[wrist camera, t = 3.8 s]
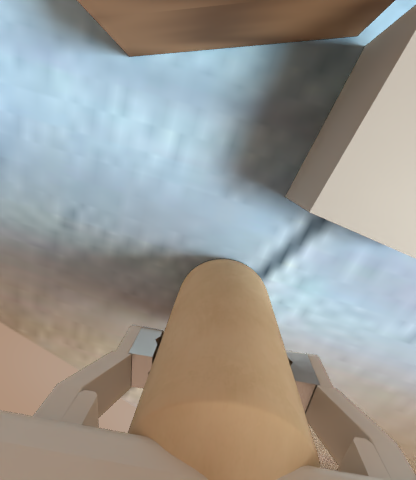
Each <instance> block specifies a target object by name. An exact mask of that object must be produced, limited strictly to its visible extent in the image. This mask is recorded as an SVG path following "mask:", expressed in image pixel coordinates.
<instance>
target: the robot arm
mask: <svg viewBox="0 0 416 480" xmlns="http://www.w3.org/2000/svg"><path fill="white" fill-rule="evenodd" d="M163 334H164V331H163V330H159V329H154V328H148V327H142V326H136V325H132V326H130V328H129V329H128V331H127V333H126V334H125V336H124V338H123V340H122V341H121V343H120V345H119V346H118V348H117V350H116V351H111V352H110V353H108V354H106V355H105V356H103V357H101V358H100V359H98V360H96V361H95V362H93V363H91V364H90V365H88V366H86V367H85V368H83V369H81V370H80V371H78V372H77V373H75V374H73V375H71V376H70V377H68V378H66V379H65V380H63V381H62V382H60V383H58V384H57V385H56V386H55V388H54V389H53V391H52V392H51V393H50V395H49V396H48V397H47V398H46V400H45V401H44V402H43V403H42V405H41V406H40V408H39V409H38V410H37V411H36V413H35V414H34V415H33V416H29V415H24V414H18V413H12V412H7V411H1V410H0V480H208V479H207V478H206V477H205V476H204V475H202V474H201V473H199V472H198V471H197V470H195V469H194V468H192V467H191V466H189V465H187V464H186V463H184V462H182V461H181V460H179V459H178V458H176V457H175V456H173V455H171V454H170V453H169V452H167V451H166V450H165V449H163V448H162V447H161V446H160V445H159V444H158V443H157V442H155V441H154V440H152V439H151V438H149V437H146V436H141V435H136V434H130V433H125V432H119V431H113V430H108V429H102V428H99V426H98V418H99V417H100V416H101V415H102V414H103V413H104V412H105V411H106V410H108V409H109V408H110V407H111V406H112V405H113V404H114V403H115V402H116V401H117V400H118V399H119V398H120V397H121V396H123V395H124V394H125V393H126V392H127V391H128V390H129V389H130V388H131V387H138V388H144V386H145V384H146V381H147V378H148V375H149V373H150V370H151V367H152V364H153V362H154V359H155V356H156V353H157V350H158V348H159V345H160V342H161V339H162V337H163ZM286 354H287V357H288V360H289V363H290V367H291V370H292V373H293V376H294V379H295V383H296V386H297V389H298V392H299V395H300V399H301V402H302V405H303V408H304V412H305V415H306V418H307V421H308V424H309V425H310V426H311V428H312V429H313V431H314V432H315V433H316V435H317V436H318V438H319V439H320V440H321V442H322V443H323V445H324V446H325V447H326V449H327V450H328V452H329V453H330V454H331V456H332V457H333V459H334V460H335V461H336V463H337V464H338V465H339V467H338V469H337V470H331V469H326V468H320V467H315V466H309V465H307V466H302V467H300V468H298V469H296V470H295V471H293V472H291V473H288V474H286V475H284V476H282V477H280V478H278V479H276V480H416V474H415V473H414V471H413V469H412V468H411V466H410V464H409V463H408V461H407V459H406V458H405V456H404V454H403V453H402V451H401V449H400V448H399V446H398V444H397V443H396V442H395V441H394V440H393V439H392V438H390V437H389V436H388V435H387V434H386V433H385V432H384V431H383V430H382V429H381V428H380V427H379V426H377V425H376V424H375V423H374V422H373V421H372V420H371V419H370V418H369V417H368V416H367V415H365V414H364V413H363V412H362V411H361V410H360V409H359V408H358V407H357V406H356V405H355V404H353V403H352V402H351V401H350V400H349V399H348V398H347V397H346V396H345V395H344V394H343V393H342V392H340V391H339V390H338V389H336V388H334V387H333V385H332V383H331V381H330V379H329V377H328V375H327V373H326V371H325V369H324V366H323V364H322V362H321V360H320V358H319V357H318V356H317V355H314V354H307V353H306V354H305V353H300V352H293V351H287V350H286Z"/></svg>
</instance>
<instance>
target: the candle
mask: <svg viewBox="0 0 416 480" xmlns="http://www.w3.org/2000/svg"><path fill="white" fill-rule="evenodd" d="M128 433H130V434H136V435H141V436H146V437H149V438H151V439H152V440H154V441H155V442H157V443H158V444H159V445H160V446H161V447H162V448H163V449H165V450H166V451H167V452H169V453H170V454H171V455H173V456H175V457H176V458H178V459H179V460H181V461H182V462H184V463H186V464H187V465H189V466H191V467H192V468H194V469H195V470H197V471H198V472H199V473H201V474H202V475H204V476H205V477H206V478H207V479H208V480H276V479H278V478H280V477H282V476H284V475H286V474H288V473H291V472H293V471H295V470H296V469H298V468H300V467H302V466H307V465H309V466H315V467H320V462H319V458H318V454H317V450H316V447H315V444H314V441H313V437H312V434H311V431H310V428H309V424H308V421H307V418H306V415H305V412H304V408H303V405H302V402H301V399H300V395H299V392H298V389H297V386H296V383H295V379H294V376H293V373H292V370H291V367H290V363H289V360H288V357H287V354H286V350H285V347H284V344H283V341H282V338H281V334H280V331H279V328H278V325H277V321H276V318H275V315H274V312H273V309H272V305H271V302H270V299H269V296H268V293H267V290H266V288H265V285H264V283H263V282H262V280H261V278H260V277H259V276H258V275H257V273H256V272H255V271H253V270H252V269H251V268H250V267H248V266H247V265H245V264H243V263H240V262H238V261H234V260H228V259H216V260H211V261H207V262H204V263H202V264H200V265H198V266H197V267H195V268H194V269H193V270H192V271H191V272H190V273H189V274H188V275H187V276H186V278H185V279H184V281H183V283H182V285H181V287H180V290H179V292H178V295H177V298H176V301H175V303H174V306H173V309H172V312H171V314H170V317H169V320H168V323H167V326H166V328H165V331H164V334H163V337H162V339H161V342H160V345H159V348H158V350H157V353H156V356H155V359H154V362H153V364H152V367H151V370H150V373H149V375H148V378H147V381H146V384H145V386H144V389H143V392H142V395H141V397H140V400H139V403H138V406H137V409H136V411H135V414H134V417H133V420H132V423H131V426H130V428H129V431H128Z"/></svg>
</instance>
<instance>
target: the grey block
mask: <svg viewBox="0 0 416 480" xmlns="http://www.w3.org/2000/svg"><path fill="white" fill-rule="evenodd" d="M285 197H286V198H287V199H289V200H291V201H292V202H294V203H295V204H297V205H299V206H300V207H302V208H303V209H305V210H307V211H308V212H310V213H312V214H315V215H317V216H319V217H322V218H324V219H326V220H328V221H331V222H333V223H335V224H338V225H340V226H342V227H345V228H347V229H349V230H351V231H354V232H356V233H358V234H361V235H363V236H365V237H367V238H370V239H372V240H374V241H377V242H379V243H381V244H384V245H386V246H388V247H390V248H393V249H395V250H397V251H400V252H402V253H404V254H407V255H409V256H411V257H413V258H416V5H415V6H414V7H412V8H411V9H410V10H409V11H408V12H406V13H405V14H404V15H403V16H401V17H400V18H399V19H398V20H397V21H395V22H394V23H393V24H392V25H390V26H389V27H388V28H387V29H386V30H384V31H383V32H382V33H381V34H379V35H378V36H377V37H376V38H374V39H373V40H372V41H371V42H370V43H368V44H367V45H366V46H365V47H364V49H363V51H362V53H361V55H360V57H359V58H358V60H357V62H356V64H355V66H354V68H353V70H352V72H351V73H350V75H349V77H348V79H347V81H346V83H345V85H344V87H343V89H342V90H341V92H340V94H339V96H338V98H337V100H336V102H335V104H334V105H333V107H332V109H331V111H330V113H329V115H328V117H327V119H326V120H325V122H324V124H323V126H322V128H321V130H320V132H319V134H318V136H317V137H316V139H315V141H314V143H313V145H312V147H311V149H310V151H309V152H308V154H307V156H306V158H305V160H304V162H303V164H302V166H301V167H300V169H299V171H298V173H297V175H296V177H295V179H294V181H293V182H292V184H291V186H290V188H289V190H288V192H287V194H286V196H285Z"/></svg>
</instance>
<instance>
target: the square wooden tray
mask: <svg viewBox="0 0 416 480" xmlns="http://www.w3.org/2000/svg"><path fill="white" fill-rule="evenodd" d="M77 1H78V2H79V3H80V4H81V5H82V6H83V7H84V9H85V10H86V11H87V12H88V13H89V14H90V15H91V16H92V17H93V18H94V19H95V20H96V21H97V22H98V23H99V25H100V26H101V27H102V28H103V29H104V30H105V31H106V32H107V33H108V34H109V35H110V36H111V37H112V38H113V40H114V41H115V42H116V43H117V44H118V45H119V46H120V47H121V48H122V49H123V50H124V51H125V52H126V53H127V54H128V56H129V57H131V56H142V55H153V54H165V53H176V52H187V51H198V50H209V49H220V48H231V47H242V46H253V45H264V44H276V43H287V42H298V41H309V40H320V39H331V38H342V37H353V36H358V35H359V34H360V33H361V32H362V31H363V30H364V29H365V28H366V27H367V26H368V25H370V24H371V23H372V22H373V21H374V20H375V19H376V18H377V17H378V16H379V15H380V14H381V13H382V12H383V11H384V10H385V9H386V8H387V7H389V6H390V5H391V4H392V3H393V2H394V1H395V0H77Z"/></svg>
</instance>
